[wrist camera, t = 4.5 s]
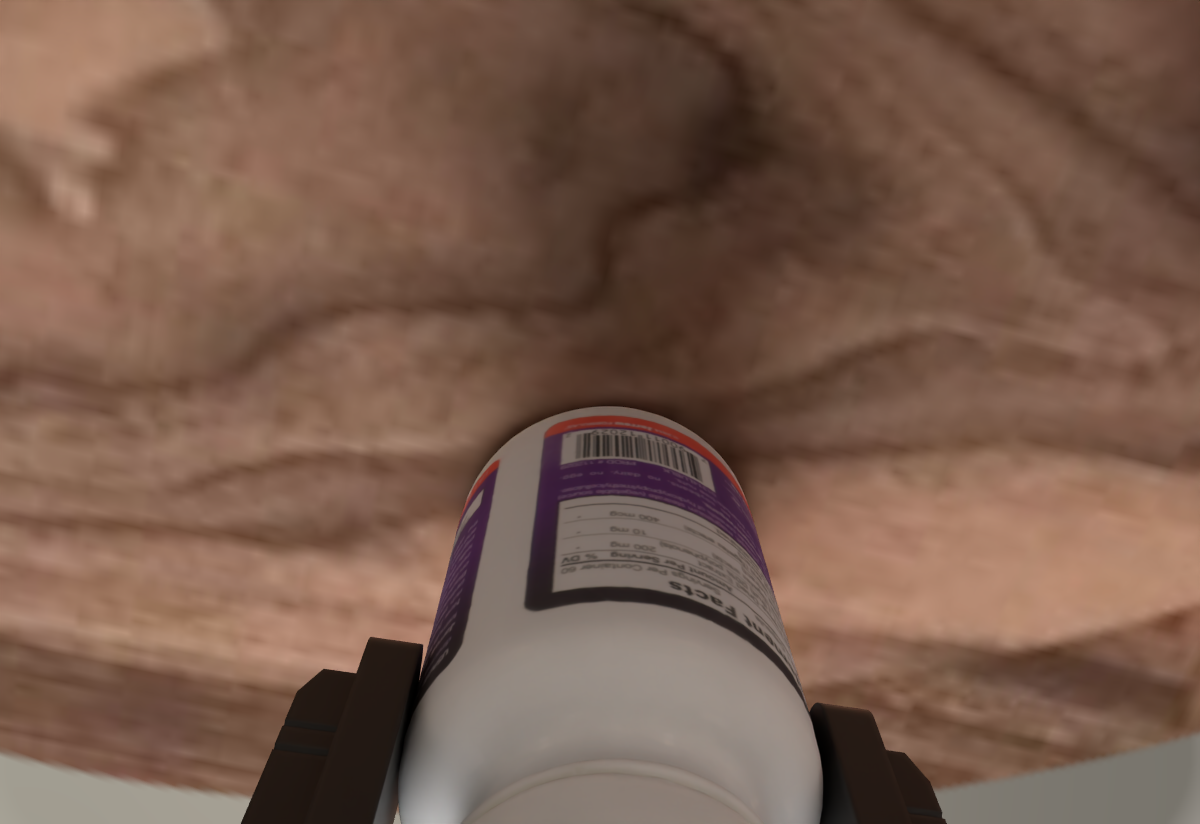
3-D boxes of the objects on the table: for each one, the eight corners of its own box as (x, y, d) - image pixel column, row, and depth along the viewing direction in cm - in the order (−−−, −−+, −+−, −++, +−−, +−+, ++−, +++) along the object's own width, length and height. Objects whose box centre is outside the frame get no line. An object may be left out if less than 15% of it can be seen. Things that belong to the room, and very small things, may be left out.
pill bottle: (575, 696, 21) (554, 1241, 12) (403, 502, 19) (225, 966, 10) (807, 560, 20) (979, 1054, 11) (644, 339, 18) (686, 706, 9)
